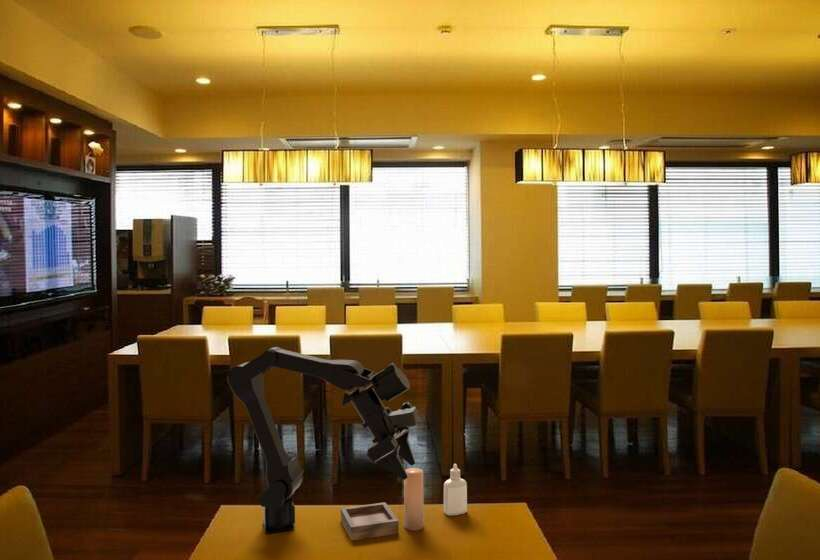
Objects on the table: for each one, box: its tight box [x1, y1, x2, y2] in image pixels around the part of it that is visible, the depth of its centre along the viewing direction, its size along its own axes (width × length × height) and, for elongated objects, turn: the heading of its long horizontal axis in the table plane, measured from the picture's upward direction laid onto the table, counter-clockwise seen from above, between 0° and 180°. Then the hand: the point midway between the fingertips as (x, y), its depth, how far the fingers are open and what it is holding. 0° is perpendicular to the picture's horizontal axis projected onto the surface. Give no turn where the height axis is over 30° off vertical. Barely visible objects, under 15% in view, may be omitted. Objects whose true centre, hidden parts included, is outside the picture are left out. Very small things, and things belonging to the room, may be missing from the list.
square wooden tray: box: [340, 501, 400, 541], centre depth 147 cm, size 11×11×3 cm
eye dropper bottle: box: [443, 463, 468, 517], centre depth 155 cm, size 4×6×12 cm
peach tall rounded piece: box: [403, 467, 424, 531], centre depth 147 cm, size 4×4×13 cm
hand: (409, 471), depth 141 cm, fingers open, 9 cm apart
